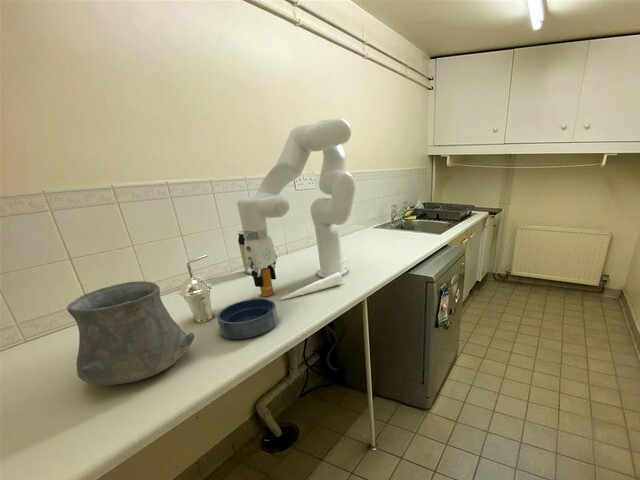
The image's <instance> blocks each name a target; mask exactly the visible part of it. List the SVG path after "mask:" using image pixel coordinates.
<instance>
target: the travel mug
mask: <svg viewBox="0 0 640 480" xmlns="http://www.w3.org/2000/svg"><path fill="white" fill-rule="evenodd" d="M236 234H237V235H238V239H237V242H238V246H239V251H240V255H241V259H242V265H243V268H244V269H243V270H245V268H246V265H247V261H246V255H245V238H244V237H243V235H244V233H243V229H240V230H238V231H236ZM255 268H256V267H255ZM251 269H252V268H251ZM255 272H256V273H257V269H255ZM245 273H246V274H248V273H247V272H245Z"/></svg>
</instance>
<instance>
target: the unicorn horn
mask: <svg viewBox="0 0 640 480" xmlns="http://www.w3.org/2000/svg"><path fill="white" fill-rule="evenodd" d="M343 283H344V278H343V275H341V274H340V273H339V272H337V273H335V274H332V275H330V276H328V277H326V278H324V277H322V278H321V279H318V280H317V281H314V282H311V283H310V284H307V285H306V286H303V287H301V288H299V289H297V290H294V291H293V292H290V293H289V294H287V295H284V296H282V297H281V298H279V300H280V301H282V300H287V299H288V300H289V299H291V298H296V297H300V296H303V295H306V294H310V293H315V292H318V291H321V290H322V291H323V290H326V289H328V288H333V287H336V286H339V285H342V284H343Z"/></svg>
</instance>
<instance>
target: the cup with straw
mask: <svg viewBox="0 0 640 480" xmlns="http://www.w3.org/2000/svg"><path fill="white" fill-rule="evenodd" d="M206 258H208V255H207V254H204V255H202V256H201V255H200V256H198V257H196V258H193V259H190V260H188V261H187V262H186V268H187V271H188V275H189V277H188V278H187V279H185V280H184V281H183V282H182V284H181V287H180V289H179V290H178V295H179V296H180V297H183V299H184V300H185V302H186V303H187V306H188V308H189V309H190V312H191V314H192V316H193V318H194V319H195V322H197V323H203V322H207V321H209V320H211V319H212V318H213V315H212V314H213V311H212V301H211V290H212V289H213V286H212V284H211V283H209V282H207V280H206V279H204V278H203V277H199V276H194V275H193V272H192V267H191V263H194V262H197V261H200V260H203V259H206Z"/></svg>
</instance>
